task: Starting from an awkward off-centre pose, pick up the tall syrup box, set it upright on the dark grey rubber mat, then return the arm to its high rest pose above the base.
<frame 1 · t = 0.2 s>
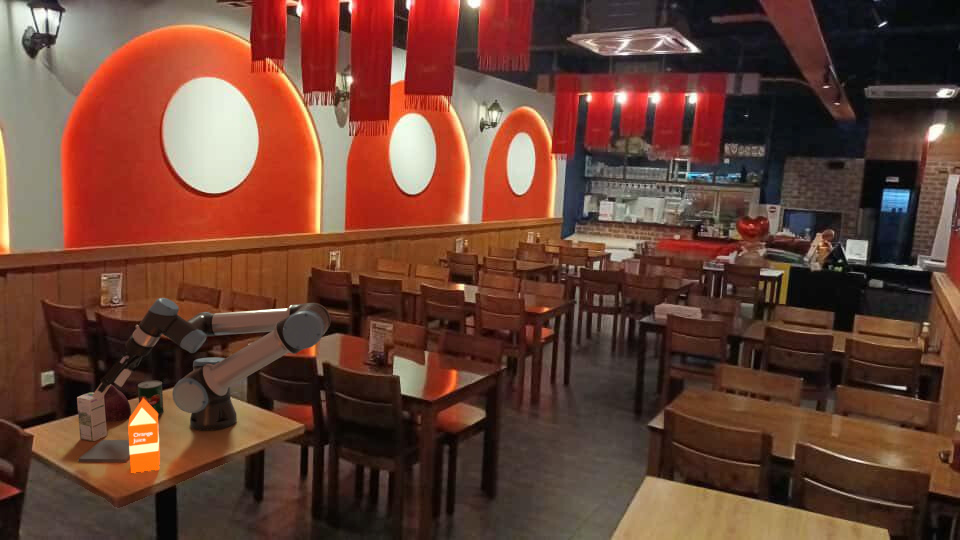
hand: (107, 391, 222), 16 cm above the table, tool tilted 35°, fingers open, 13 cm apart
canned tomato: (151, 413, 246), on the table
mat: (113, 452, 213), on the table
vegetable: (115, 417, 241), on the table
orange juice: (146, 466, 205), on the table
syrup box: (93, 438, 224), on the table
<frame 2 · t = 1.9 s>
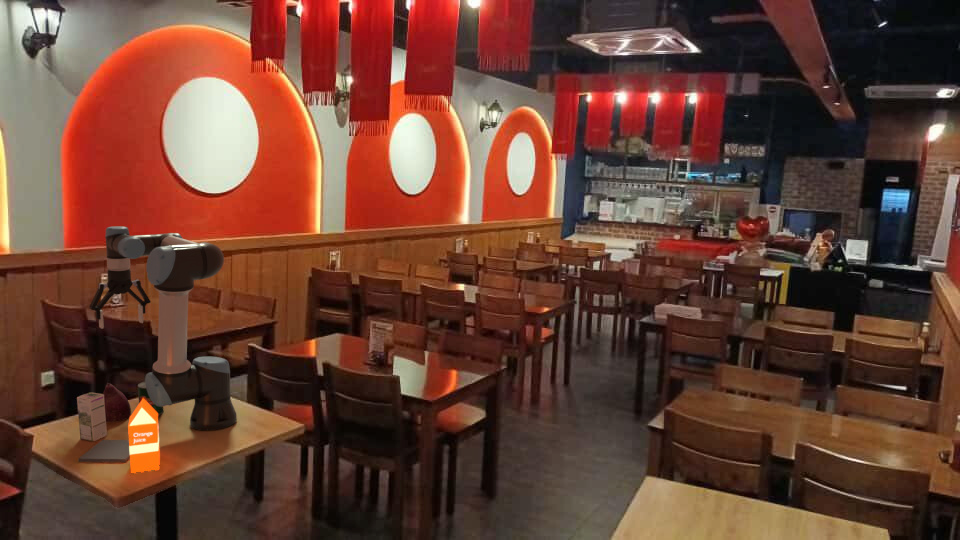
hand: (121, 325, 253), 29 cm above the table, tool pointing down, fingers open, 13 cm apart
nothing on the table moved.
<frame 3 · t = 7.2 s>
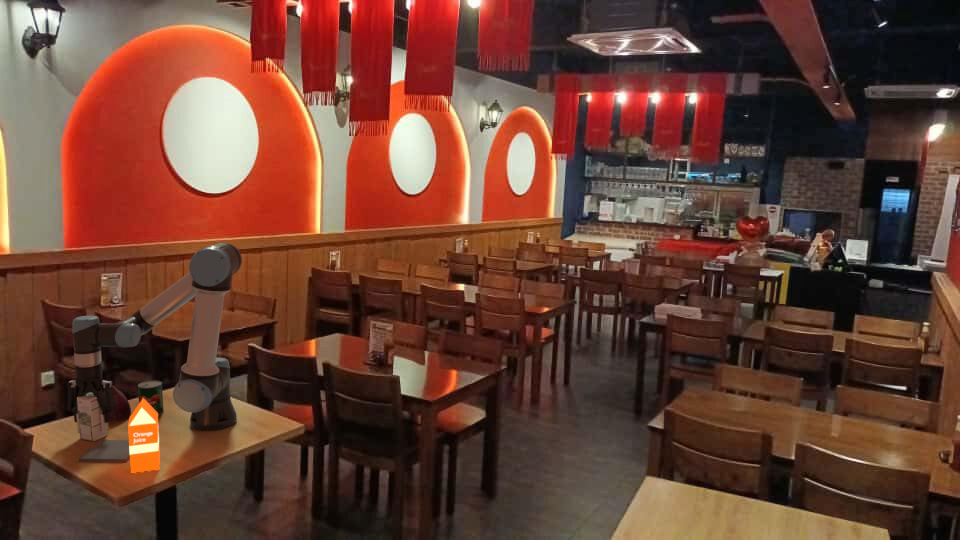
hand: (93, 431, 223), 2 cm above the table, tool pointing down, fingers closed on syrup box, 7 cm apart
syrup box: (93, 438, 224), on the table, touching gripper
everything else where it was.
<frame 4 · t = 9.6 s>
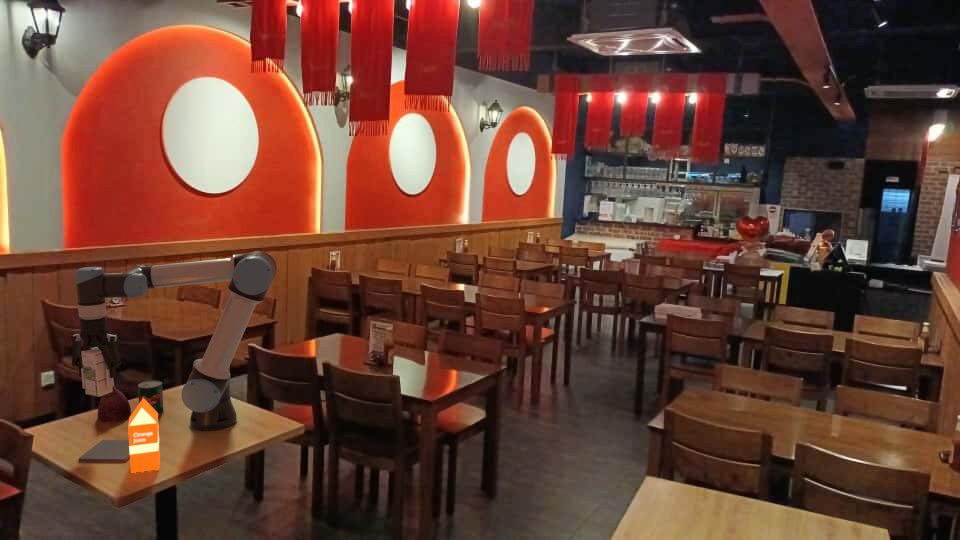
hand: (98, 387, 216), 19 cm above the table, tool pointing down, fingers closed on syrup box, 7 cm apart
syrup box: (99, 394, 217), point 16 cm above the table, touching gripper
everything else where it was.
when the fingers open (5 cm above the table, at t = 12.2 s): syrup box drops 1 cm, resting on mat.
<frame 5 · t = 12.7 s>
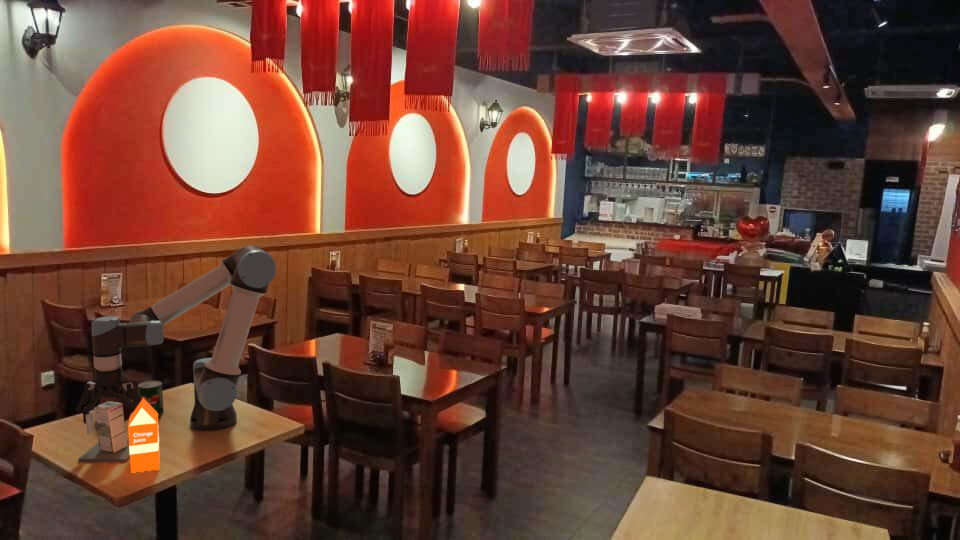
hand: (112, 433, 212), 6 cm above the table, tool pointing down, fingers open, 13 cm apart
syrup box: (113, 449, 213), point 1 cm above the table, touching mat
everything else where it was.
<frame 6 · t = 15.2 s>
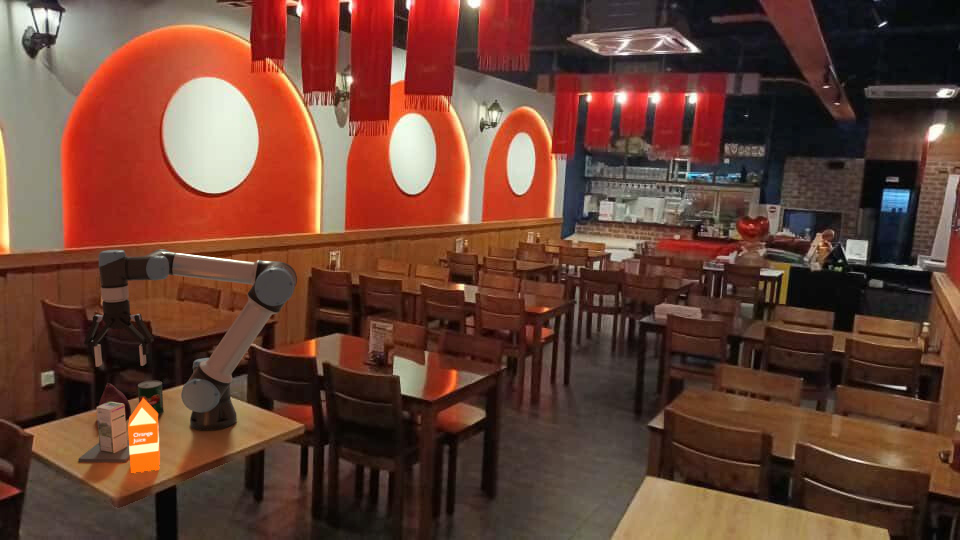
hand: (121, 365, 217), 26 cm above the table, tool pointing down, fingers open, 13 cm apart
nothing on the table moved.
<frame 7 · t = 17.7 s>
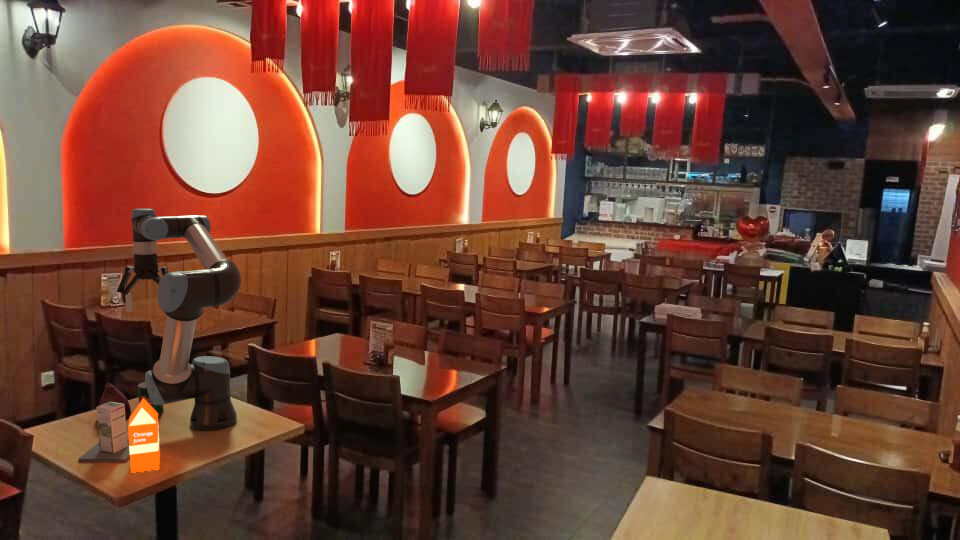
hand: (148, 312, 242), 37 cm above the table, tool pointing down, fingers open, 13 cm apart
nothing on the table moved.
at the end: syrup box inside the target area on the mat (0.1 cm from its centre), point 0.8 cm above the mat's base; syrup box tilted 0°; the gripper is holding nothing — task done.
